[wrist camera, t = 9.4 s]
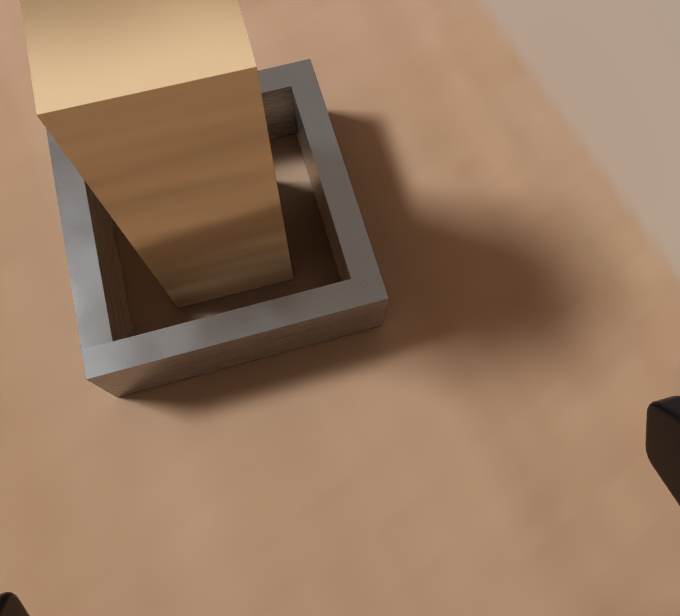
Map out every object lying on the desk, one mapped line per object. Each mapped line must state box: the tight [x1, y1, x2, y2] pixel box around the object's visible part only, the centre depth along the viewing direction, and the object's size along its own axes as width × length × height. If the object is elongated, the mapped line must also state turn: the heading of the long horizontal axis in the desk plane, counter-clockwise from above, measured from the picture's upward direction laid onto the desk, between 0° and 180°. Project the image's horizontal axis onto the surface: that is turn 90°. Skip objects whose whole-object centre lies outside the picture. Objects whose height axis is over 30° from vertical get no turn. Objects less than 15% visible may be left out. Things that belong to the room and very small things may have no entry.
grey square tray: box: [46, 59, 389, 397], centre depth 24 cm, size 10×10×3 cm
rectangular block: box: [20, 0, 293, 308], centre depth 19 cm, size 4×4×12 cm
